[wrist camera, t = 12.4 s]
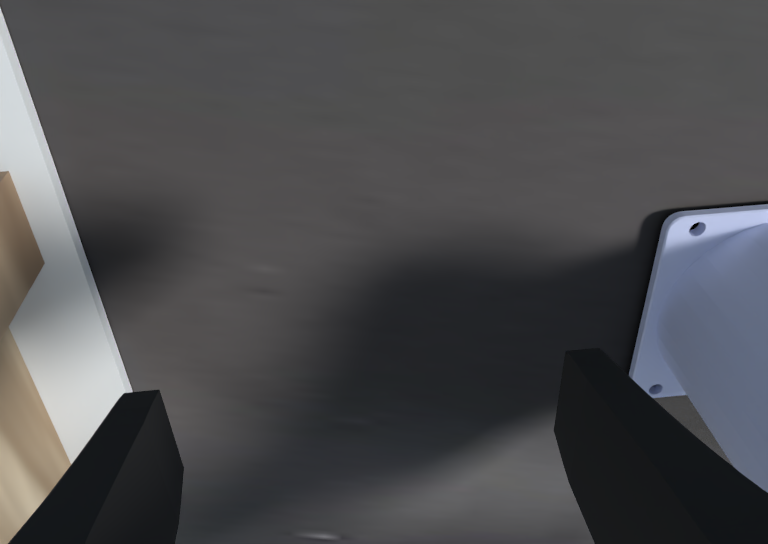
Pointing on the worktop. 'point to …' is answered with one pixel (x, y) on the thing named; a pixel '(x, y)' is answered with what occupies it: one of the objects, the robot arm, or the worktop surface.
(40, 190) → the grey mat
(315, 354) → the worktop surface
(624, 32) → the worktop surface
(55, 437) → the tan boxy piece
